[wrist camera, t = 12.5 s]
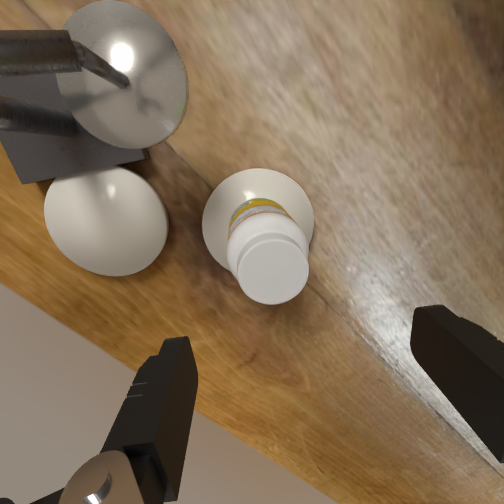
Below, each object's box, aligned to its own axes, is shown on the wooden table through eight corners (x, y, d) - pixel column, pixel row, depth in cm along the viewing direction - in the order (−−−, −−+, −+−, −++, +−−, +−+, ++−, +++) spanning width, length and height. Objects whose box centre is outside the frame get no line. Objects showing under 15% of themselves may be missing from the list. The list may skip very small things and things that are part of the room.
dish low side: (308, 161, 23) (312, 161, 22) (312, 265, 26) (315, 270, 25) (194, 175, 23) (191, 176, 22) (213, 278, 26) (212, 284, 25)
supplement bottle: (284, 257, 25) (313, 318, 16) (227, 252, 24) (221, 313, 15) (293, 199, 23) (331, 231, 14) (231, 193, 22) (227, 222, 13)
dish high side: (153, 155, 22) (149, 155, 21) (179, 264, 26) (176, 269, 24) (34, 170, 22) (23, 170, 21) (76, 277, 26) (69, 282, 24)
